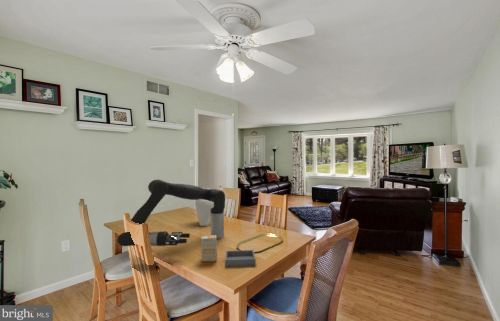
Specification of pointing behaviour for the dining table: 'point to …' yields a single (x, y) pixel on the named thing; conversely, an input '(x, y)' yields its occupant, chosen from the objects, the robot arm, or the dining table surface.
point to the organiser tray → (240, 258)
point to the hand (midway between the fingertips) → (188, 238)
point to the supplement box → (209, 248)
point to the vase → (203, 211)
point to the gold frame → (259, 237)
